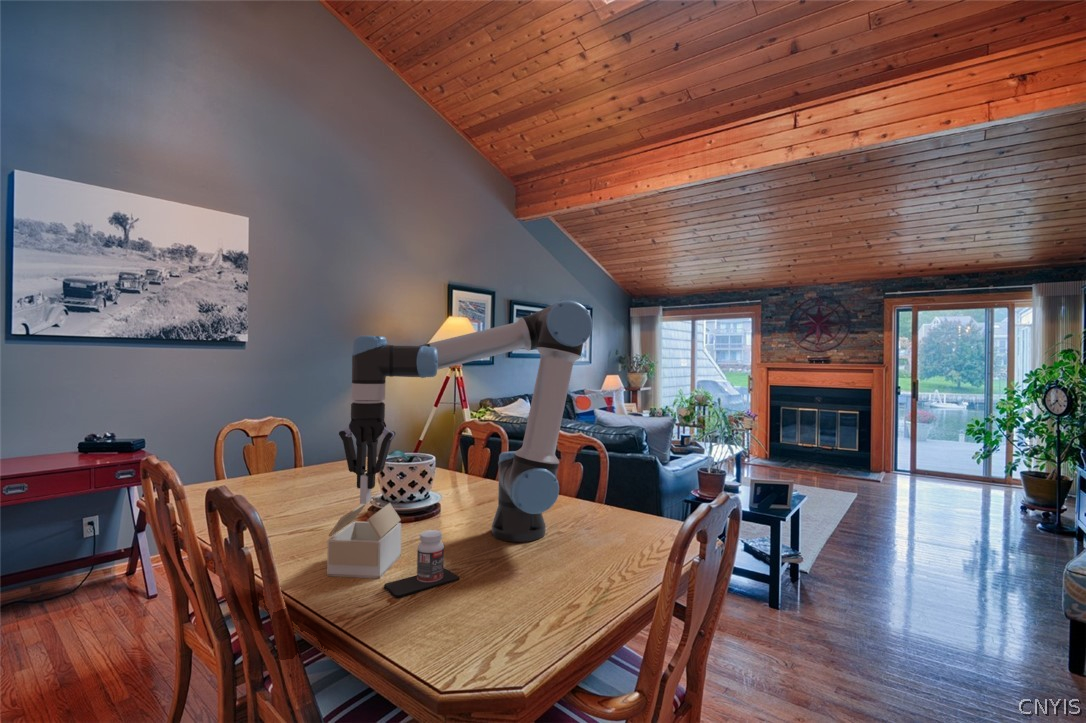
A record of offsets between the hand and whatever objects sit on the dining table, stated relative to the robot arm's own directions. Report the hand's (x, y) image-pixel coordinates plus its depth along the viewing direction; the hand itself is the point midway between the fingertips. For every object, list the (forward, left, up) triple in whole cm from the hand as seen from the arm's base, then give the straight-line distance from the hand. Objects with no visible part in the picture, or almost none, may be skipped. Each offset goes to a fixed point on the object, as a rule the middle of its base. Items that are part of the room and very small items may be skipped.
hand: (365, 502), depth 115 cm
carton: (0, 0, -15) cm, 15 cm away
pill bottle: (-17, +5, -15) cm, 24 cm away
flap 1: (+6, 0, -6) cm, 8 cm away
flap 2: (-6, 0, -6) cm, 9 cm away
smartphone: (-16, +8, -15) cm, 24 cm away
